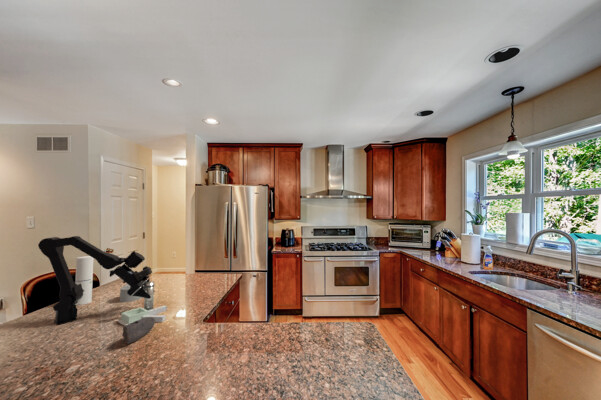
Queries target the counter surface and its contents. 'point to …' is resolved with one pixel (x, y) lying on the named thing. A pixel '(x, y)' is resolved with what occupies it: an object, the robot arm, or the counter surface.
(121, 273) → the robot arm
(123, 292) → the lumpy-topped squat cylinder
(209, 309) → the counter surface
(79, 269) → the cylindrical container
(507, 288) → the counter surface
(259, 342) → the counter surface
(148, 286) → the shiny grey metal cylinder
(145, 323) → the perforated stone tool
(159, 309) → the shaft rig
